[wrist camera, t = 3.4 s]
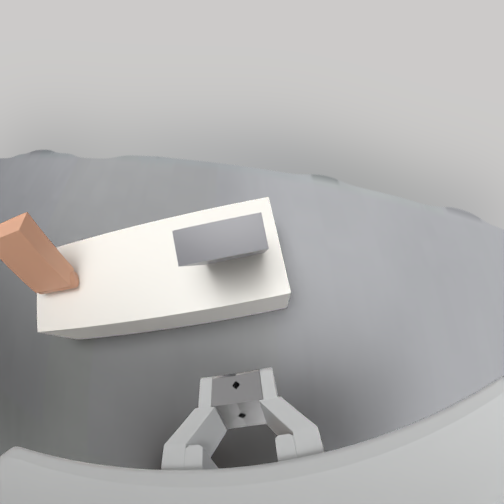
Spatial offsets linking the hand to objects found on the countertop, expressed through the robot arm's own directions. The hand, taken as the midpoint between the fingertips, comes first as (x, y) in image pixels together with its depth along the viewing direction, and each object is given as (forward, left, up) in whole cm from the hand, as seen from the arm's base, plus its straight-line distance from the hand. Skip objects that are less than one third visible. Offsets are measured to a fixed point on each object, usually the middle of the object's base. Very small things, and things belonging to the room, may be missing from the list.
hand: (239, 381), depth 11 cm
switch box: (-13, -1, -19) cm, 23 cm away
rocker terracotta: (-19, -8, -10) cm, 23 cm away
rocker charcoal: (-8, +6, -10) cm, 14 cm away
